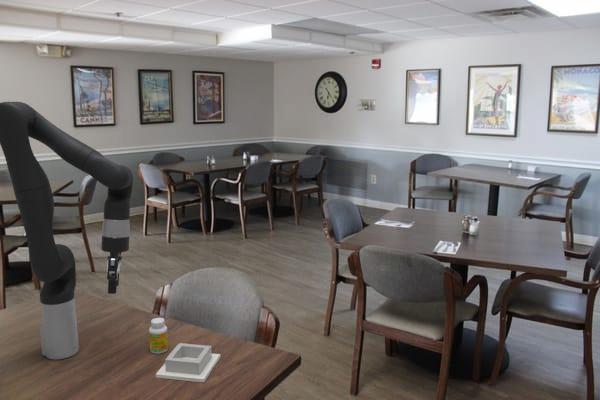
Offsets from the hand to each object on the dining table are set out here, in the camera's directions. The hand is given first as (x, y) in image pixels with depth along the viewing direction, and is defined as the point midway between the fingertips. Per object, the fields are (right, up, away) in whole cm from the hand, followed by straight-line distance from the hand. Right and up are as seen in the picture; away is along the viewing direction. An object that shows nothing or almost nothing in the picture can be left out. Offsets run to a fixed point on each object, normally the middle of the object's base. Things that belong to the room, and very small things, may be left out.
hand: (113, 289), depth 147 cm
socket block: (+22, -22, -1) cm, 32 cm away
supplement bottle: (+11, -20, +9) cm, 25 cm away
